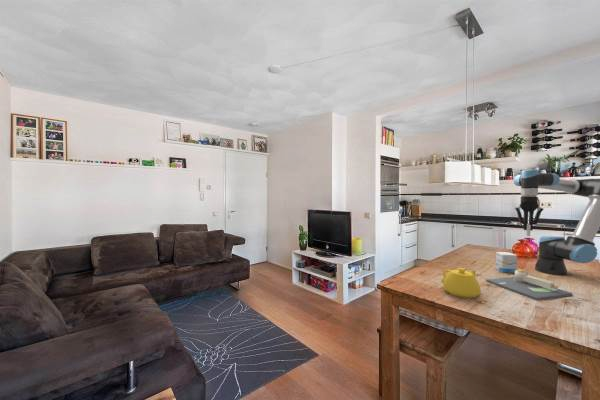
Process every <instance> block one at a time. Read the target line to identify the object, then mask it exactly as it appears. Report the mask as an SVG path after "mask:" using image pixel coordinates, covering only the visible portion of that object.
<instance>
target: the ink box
mask: <svg viewBox="0 0 600 400" xmlns="http://www.w3.org/2000/svg"><path fill="white" fill-rule="evenodd" d="M494 264H495V266H494V269H495V270H497V271H499V272H502V273H511V274H513V273H514V274H515V270H517V269H518V255H517V254H515V253H512V252H510V251H509V252H507V251H496V252H495V263H494Z"/></svg>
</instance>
